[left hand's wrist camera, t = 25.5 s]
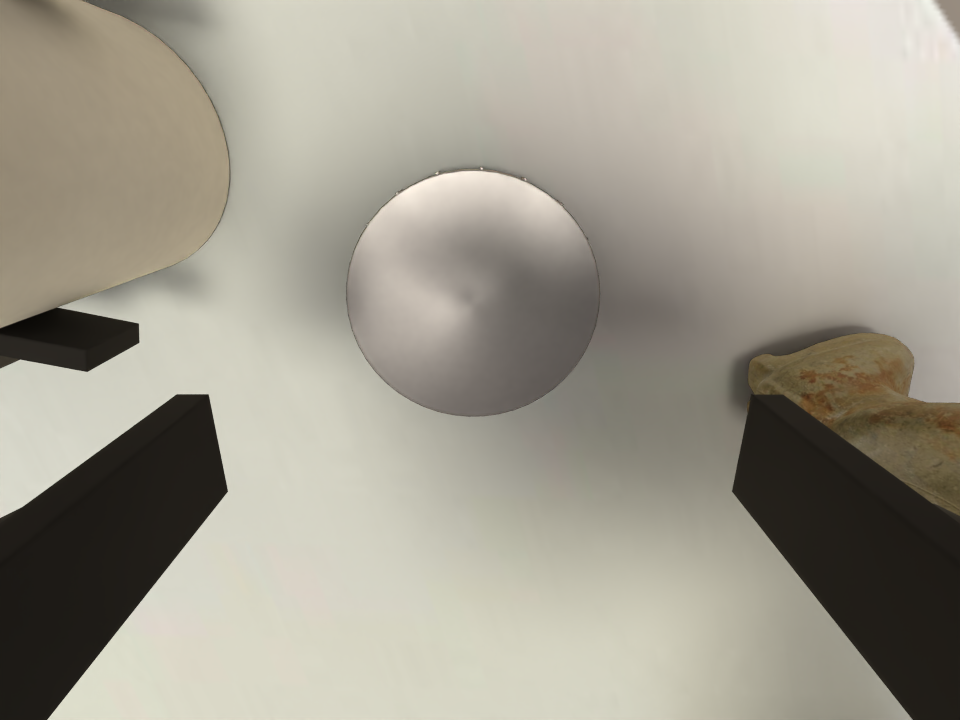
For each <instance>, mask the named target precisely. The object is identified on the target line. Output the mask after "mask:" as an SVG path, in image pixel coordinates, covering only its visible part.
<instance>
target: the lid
mask: <svg viewBox="0 0 960 720" xmlns="http://www.w3.org/2000/svg"><path fill="white" fill-rule="evenodd" d="M435 174H436V175H433V176H430V177H428V178H426V179H424V180H421V181H419V182H417V183H415V184H413V185H411V186H409V187H407V188H406V189H404V190H400V191H398V192H396V193H395V194H396V195H395V196H394V197H393V198H392V199H391V200H389V201H388V202H387V203H386V204H385V205H384V206H383V207H381V209H380V210H379V211H378V212H377V213H376V214H375V216H374V217H373V218H372V219H371V220H370V222H368V223H367V224H366V228H365V229H364V231H363V233H362V234H361V236H360V238H359V240H358V243H357V245H356V247H355V249H354V252H353V255H352V258H351V262H350V265H349V270H348V277H347V289H346V300H347V309H348V316H349V320H350V324H351V328H352V331H353V334H354V336H355V339H356V341H357V343H358V346H359V348H360V349H361V351H362V353H363V355H364V356H365V358H366V360H367V361H368V362H369V364H370V365H371V366H372V368H373V369H374V370H375V372H376V373H377V374H378V375H379V376H380V377H381V378H382V379H383V380H384V381H385V382H386V383H387V384H388V385H390V386H391V387H392V388H393V389H394V390H396V391H397V392H398V393H400V394H401V395H403V396H404V397H406V398H408V399H409V400H411V401H413V402H415V403H417V404H419V405H421V406H423V407H426V408H429V409H432V410H435V411H438V412H442V413H446V414H451V415H458V416H489V415H496V414H501V413H505V412H509V411H513V410H515V409H518V408H521V407H523V406H526V405H528V404H530V403H532V402H534V401H536V400H537V399H539V398H541V397H543V396H544V395H545V394H547V393H548V392H550V391H551V390H553V389H554V388H555V387H556V386H557V385H558V384H559V383H560V382H562V381H563V380H564V379H565V378H566V377H567V376H568V374H569V373H570V372H571V371H572V370H573V369H574V367H575V366H576V365H577V363H578V362H579V360H580V359H581V357H582V356H583V354H584V352H585V350H586V348H587V346H588V344H589V342H590V340H591V337H592V334H593V332H594V329H595V326H596V321H597V316H598V311H599V300H600V287H599V275H598V271H597V266H596V261H595V258H594V255H593V253H592V250H591V247H590V245H589V243H588V241H587V240H588V238H587V237H586V236H585V235H584V233H583V231H582V229H581V228H580V227H579V225H578V224H577V222H576V221H575V220H574V218H573V217H572V216H571V215H570V213H569V212H568V211H567V210H566V209H565V208H564V207H563V204H562V203H561V202H559V201H558V200H555V199H554V198H553V197H551V196H550V195H549V194H548V193H546V192H545V191H543V190H541V189H539V188H538V187H536V186H534V185H533V184H531V183H529V182H527V181H526V180H527V179H526V178H524V177H521V179H520V178H518V177H515V176H513V175H510V174H506V173H502V172H499V171H494V170H486V169H483V167H480V169H459V170H453V171H447V172H443V173H440V171H438V172H436V173H435Z"/></svg>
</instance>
